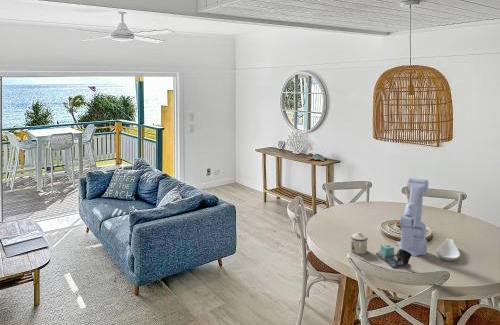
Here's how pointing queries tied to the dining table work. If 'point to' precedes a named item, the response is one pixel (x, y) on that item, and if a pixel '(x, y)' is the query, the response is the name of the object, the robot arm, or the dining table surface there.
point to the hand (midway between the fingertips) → (405, 263)
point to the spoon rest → (448, 250)
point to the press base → (390, 260)
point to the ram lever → (398, 258)
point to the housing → (387, 249)
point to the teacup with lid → (359, 243)
